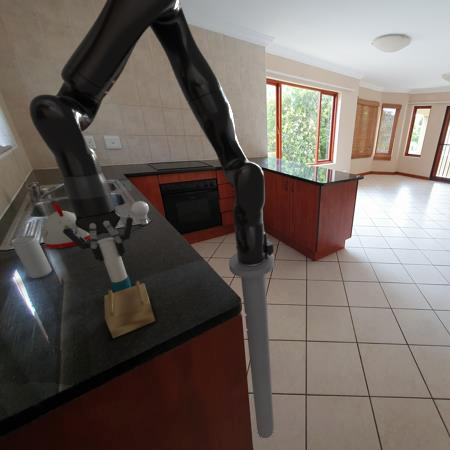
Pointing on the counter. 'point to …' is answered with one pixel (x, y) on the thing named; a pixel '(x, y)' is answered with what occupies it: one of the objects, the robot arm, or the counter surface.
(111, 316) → the cradle
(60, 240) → the kitchen timer
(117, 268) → the marker
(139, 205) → the lightbulb
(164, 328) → the counter surface
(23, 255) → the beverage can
